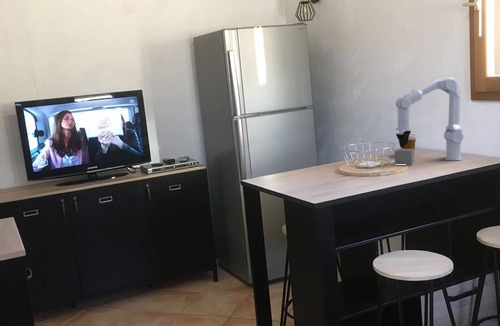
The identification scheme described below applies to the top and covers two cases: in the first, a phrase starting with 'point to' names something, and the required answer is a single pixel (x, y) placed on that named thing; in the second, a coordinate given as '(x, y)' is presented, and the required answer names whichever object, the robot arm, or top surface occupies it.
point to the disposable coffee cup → (410, 142)
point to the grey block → (404, 156)
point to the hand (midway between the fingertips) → (403, 145)
